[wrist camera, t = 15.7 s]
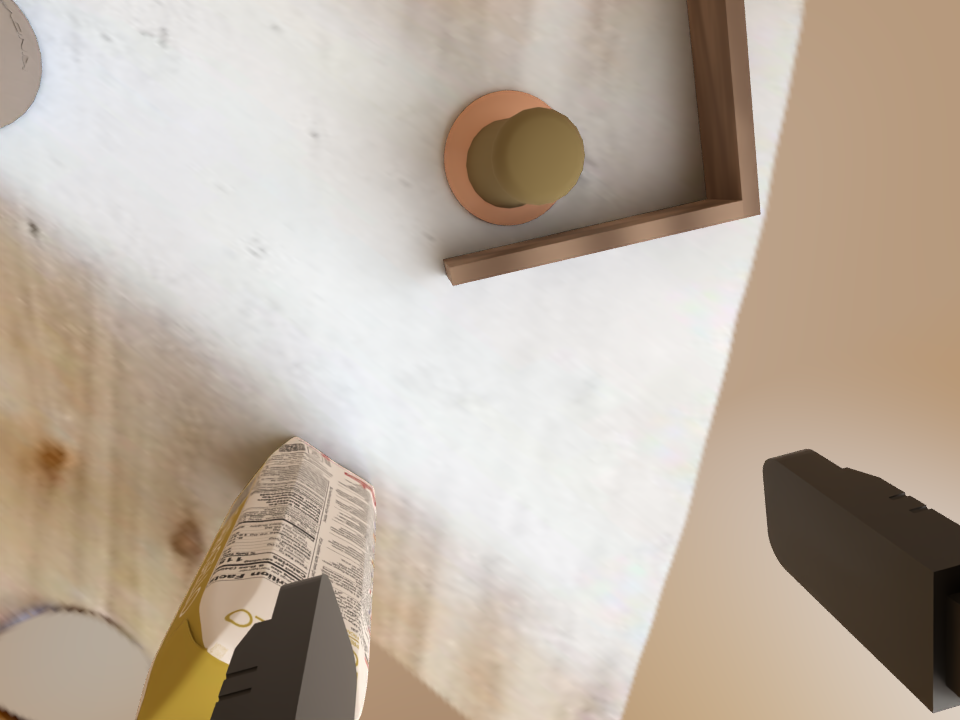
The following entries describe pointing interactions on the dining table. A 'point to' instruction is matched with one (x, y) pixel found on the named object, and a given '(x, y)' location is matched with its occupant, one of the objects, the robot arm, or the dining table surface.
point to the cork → (526, 159)
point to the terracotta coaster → (458, 146)
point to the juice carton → (268, 576)
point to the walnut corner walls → (723, 151)
